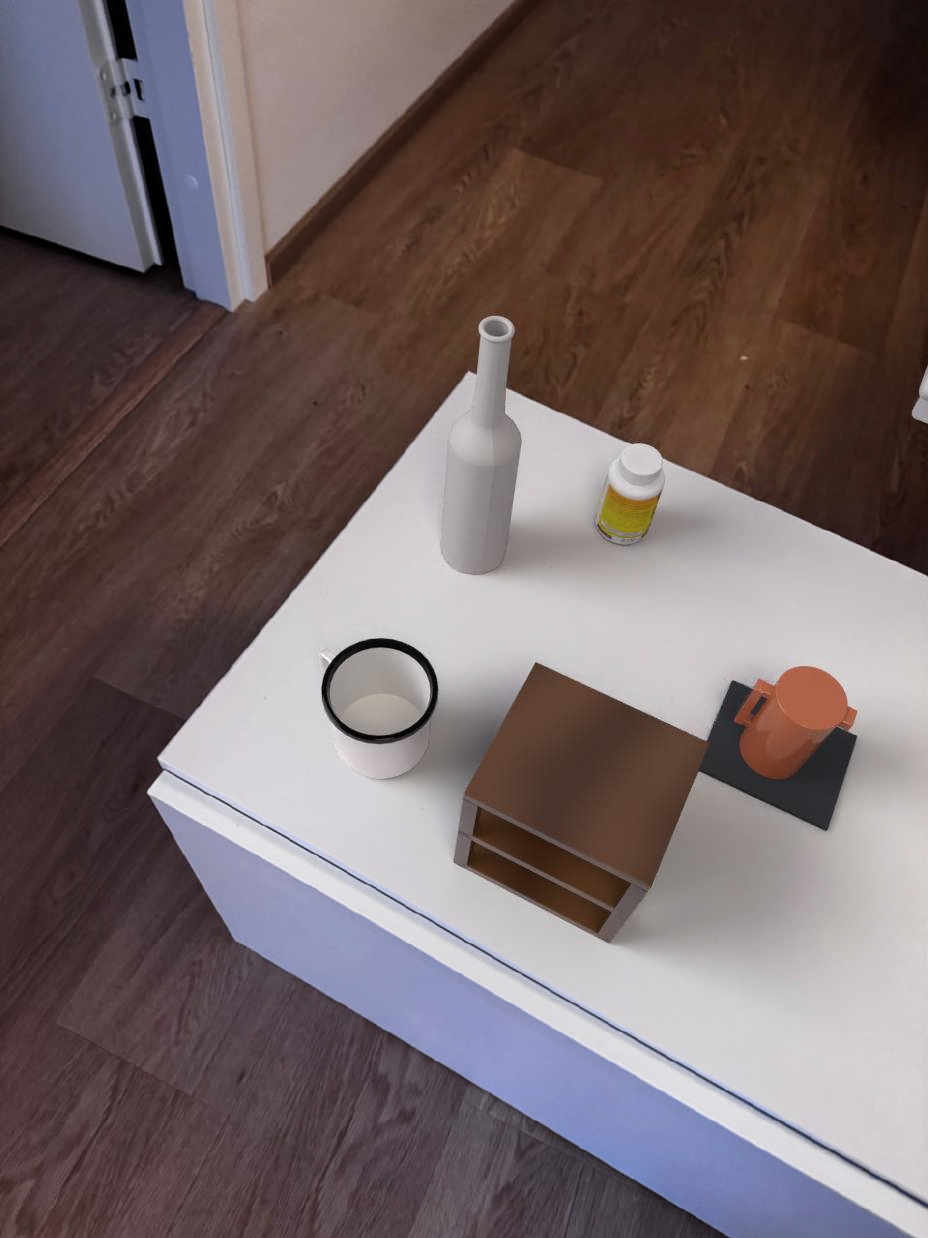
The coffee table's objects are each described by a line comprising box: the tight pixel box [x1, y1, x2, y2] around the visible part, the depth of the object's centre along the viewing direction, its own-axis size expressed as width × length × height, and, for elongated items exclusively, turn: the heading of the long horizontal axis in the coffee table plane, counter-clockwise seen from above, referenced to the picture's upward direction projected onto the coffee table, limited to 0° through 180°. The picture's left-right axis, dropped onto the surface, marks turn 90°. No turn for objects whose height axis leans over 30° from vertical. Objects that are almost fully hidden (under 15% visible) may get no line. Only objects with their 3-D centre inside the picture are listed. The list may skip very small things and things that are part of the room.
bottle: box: [439, 315, 523, 575], centre depth 85 cm, size 7×7×28 cm
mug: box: [318, 637, 440, 780], centre depth 82 cm, size 12×10×9 cm
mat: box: [698, 679, 858, 832], centre depth 87 cm, size 12×10×1 cm
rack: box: [452, 661, 709, 944], centre depth 75 cm, size 14×12×15 cm
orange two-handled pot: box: [734, 665, 858, 779], centre depth 82 cm, size 8×6×10 cm
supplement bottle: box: [594, 442, 666, 546], centre depth 95 cm, size 6×6×10 cm
